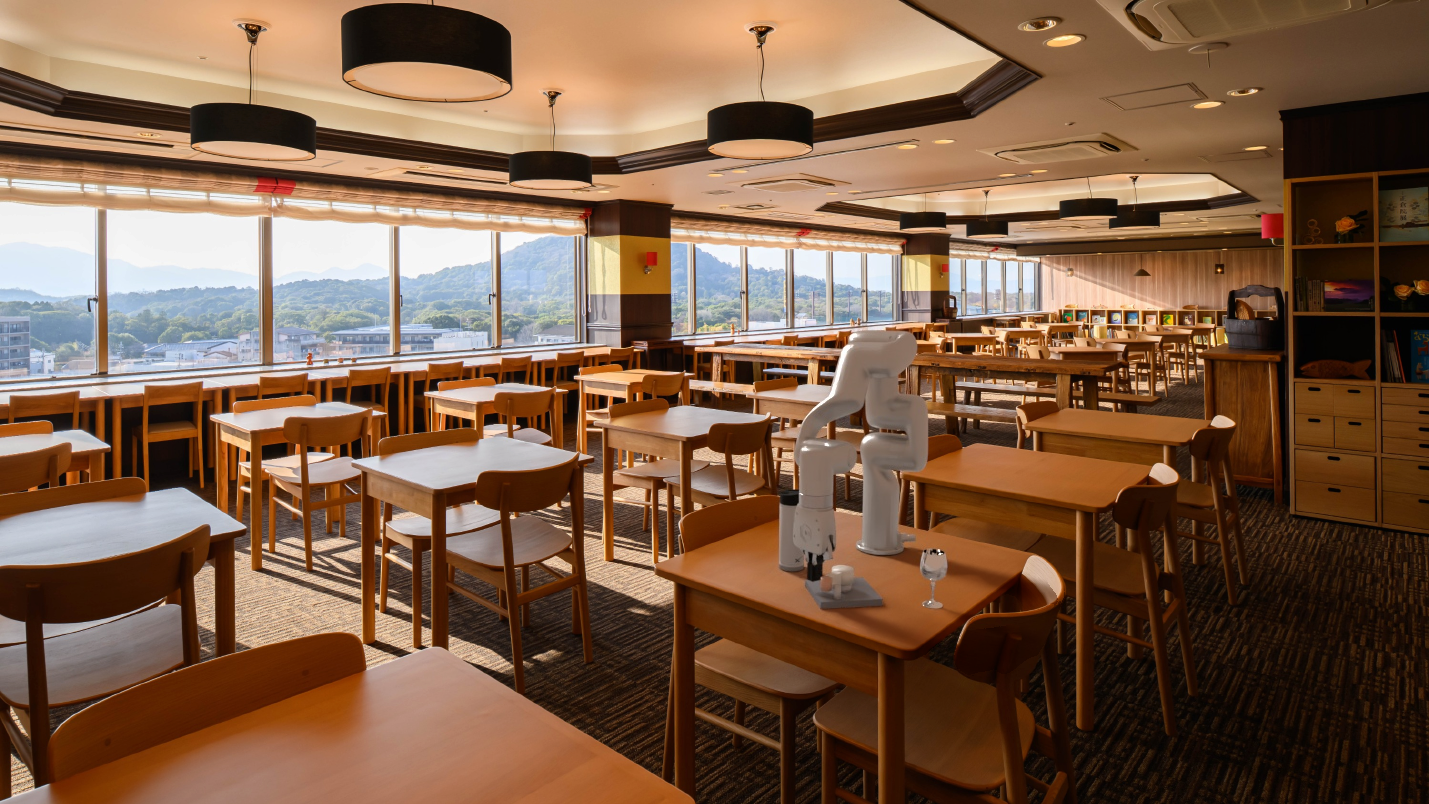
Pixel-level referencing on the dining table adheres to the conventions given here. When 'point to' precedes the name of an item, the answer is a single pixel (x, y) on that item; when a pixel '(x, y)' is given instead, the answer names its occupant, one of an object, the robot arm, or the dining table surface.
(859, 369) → the robot arm
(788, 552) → the travel mug
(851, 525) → the dining table surface
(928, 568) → the wineglass
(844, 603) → the post board
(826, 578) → the lever cap
